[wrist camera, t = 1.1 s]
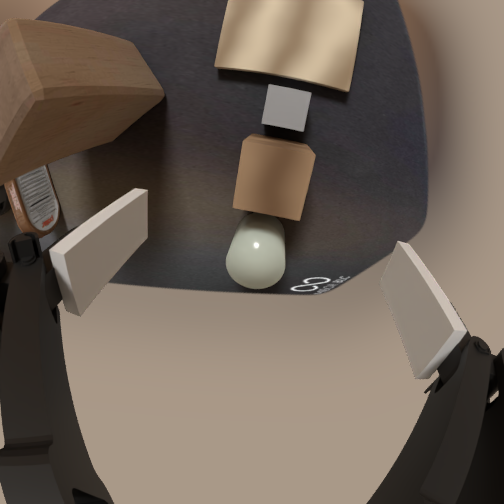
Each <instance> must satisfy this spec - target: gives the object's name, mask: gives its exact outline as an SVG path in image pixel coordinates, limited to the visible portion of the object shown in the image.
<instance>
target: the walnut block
mask: <svg viewBox="0 0 504 504" xmlns="http://www.w3.org/2000/svg"><path fill="white" fill-rule="evenodd" d="M315 156H316V155H315V154H314V153H313V152H312V150H311V149H310V148H309V147H308V145H307V144H303V143H299V142H294V141H290V140H285V139H280V138H275V137H270V136H264V135H259V134H253V133H252V134H251V135H250V136H249V137H247V138H246V139H245V140H244V141H243V144H242V150H241V156H240V163H239V169H238V175H237V182H236V188H235V195H234V201H233V208H236V209H242V210H247V211H252V212H258V213H263V214H268V215H273V216H278V217H283V218H288V219H292V220H297V221H300V217H301V213H302V209H303V206H304V202H305V198H306V194H307V190H308V185H309V181H310V177H311V173H312V169H313V165H314V160H315Z"/></svg>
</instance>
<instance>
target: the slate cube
mask: <svg viewBox="0 0 504 504" xmlns="http://www.w3.org/2000/svg"><path fill="white" fill-rule="evenodd" d="M310 97H311V93H310V92H306V91H301V90H297V89H292V88H287V87H282V86H276V85H271V84H269V86H268V92H267V97H266V102H265V108H264V113H263V119H262V124H268V125H273V126H278V127H283V128H288V129H293V130H297V131H302V132H303V131H304V127H305V122H306V117H307V112H308V107H309V102H310Z"/></svg>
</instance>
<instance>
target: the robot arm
mask: <svg viewBox="0 0 504 504" xmlns="http://www.w3.org/2000/svg"><path fill="white" fill-rule="evenodd" d="M10 208H11V204H10V201H9V198H8V195H7V192H6V189H5V185H4V184H3V185H1V186H0V215H2V214H4V213H5V212H7V211H8V210H9V209H10ZM147 238H148V190H144V189H137V188H135V189H133V190H132V191H130V192H128V193H127V194H125V195H124V196H122V197H121V198H119V199H118V200H116V201H115V202H113V203H112V204H110V205H109V206H107V207H106V208H104V209H103V210H101V211H100V212H98V213H97V214H96V215H94V216H93V217H91V218H90V219H89V220H87V221H86V222H84V223H83V224H82V225H79V226H77V227H75V228H73V229H71V230H70V231H69V232H67V233H66V234H65V235H63V236H62V237H61V238H60V239H59V240H57V241H56V242H54V243H53V244H52V245H51V246H49V247H48V248H47V249H46V250H44V251H43V252H42V251H41V246H40V242H39V237H38V234H37V233H35V232H24V233H21V234H19V235H17V236H15V237H13V238H12V239H11V240H10V241H9V243H8V246H9V249H10V253H11V257H12V260H13V263H10V262H6V260H5V257H4V253H3V252H2V251H0V404H1V416H2V425H3V432H4V439H5V445H4V448H2V449H0V483H1V486H2V490H3V493H4V497H5V500H6V503H7V504H114V502H113V500H112V498H111V496H110V495H109V492H108V491H107V489H106V487H105V485H104V484H103V482H102V481H101V479H100V478H99V477H98V475H97V474H96V472H95V470H94V468H93V465H92V463H91V460H90V458H89V455H88V452H87V449H86V446H85V443H84V440H83V437H82V434H81V430H80V427H79V424H78V420H77V417H76V413H75V409H74V405H73V401H72V396H71V392H70V387H69V382H68V377H67V372H66V365H65V359H64V352H63V344H62V335H61V326H60V312H59V309H58V306H57V305H58V304H59V303H60V301H61V300H63V303H64V306H65V309H66V311H68V312H70V313H73V314H75V315H78V316H81V315H82V314H83V313H84V311H85V310H86V309H87V308H88V306H89V305H90V304H91V302H92V301H93V300H94V299H95V298H96V296H97V295H98V294H99V293H100V291H101V290H102V289H103V287H105V285H106V284H107V283H108V282H109V281H110V279H111V278H112V277H113V276H114V275H115V274H116V272H117V271H118V270H119V269H120V268H121V267H122V265H123V264H124V263H125V262H126V261H127V260H128V259H129V258H130V256H131V255H132V254H133V253H134V252H135V251H136V250H137V249H138V248H139V246H140V245H141V244H142V243H143V242H144V241H145V240H146V239H147ZM379 285H380V287H381V290H382V292H383V294H384V297H385V299H386V301H387V304H388V306H389V309H390V311H391V313H392V316H393V318H394V321H395V323H396V326H397V329H398V331H399V334H400V337H401V339H402V342H403V344H404V347H405V350H406V353H407V356H408V359H409V362H410V365H411V368H412V371H413V374H414V377H415V379H429V378H430V377H431V375H432V374H433V373H434V372H435V371H436V370H438V373H439V377H438V378H437V379H436V380H435V381H434V382H433V383H432V384H431V385H430V386H429V387H428V388H427V389H426V390H425V392H424V393H427V392H428V391H430V390H431V391H430V394H429V397H428V399H427V401H426V403H425V406H424V408H423V410H422V412H421V414H420V416H419V419H418V421H417V423H416V425H415V427H414V429H413V431H412V433H411V435H410V437H409V439H408V440H407V442H406V444H405V446H404V448H403V450H402V451H401V453H400V455H399V456H398V458H397V460H396V461H395V463H394V465H393V466H392V468H391V470H390V471H389V473H388V474H387V476H386V477H385V479H384V480H383V482H382V483H381V485H380V486H379V488H378V489H377V490H376V492H375V493H374V494H373V496H372V497H371V499H370V500H369V501H368V502H367V504H504V348H503V349H502V350H501V351H500V353H499V354H498V355H497V356H495V355H493V354H491V351H490V348H489V346H488V345H487V344H486V343H485V342H484V341H483V340H482V339H481V338H479V337H476V336H473V337H471V335H470V334H469V332H468V330H467V328H466V326H465V325H464V323H463V321H462V320H461V318H459V315H458V313H457V312H456V310H455V308H454V306H453V305H452V303H451V302H450V301H449V300H448V298H447V297H446V295H445V294H444V292H443V291H442V290H441V288H440V286H439V285H438V283H437V282H436V280H435V279H434V277H433V276H432V275H431V273H430V272H429V270H428V269H427V268H426V266H425V265H424V263H423V262H422V261H421V259H420V258H419V257H418V255H417V254H416V253H415V251H414V250H413V249H412V247H411V246H410V245H409V244H407V243H403V242H399V241H397V244H396V246H395V249H394V251H393V253H392V256H391V258H390V260H389V263H388V265H387V267H386V269H385V271H384V274H383V276H382V278H381V280H380V282H379ZM498 390H499V395H498V397H497V398H496V399H495V400H494V401H492V402H491V403H490V397H492V396H493V395H494V394H495V393H496V392H497V391H498Z"/></svg>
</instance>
